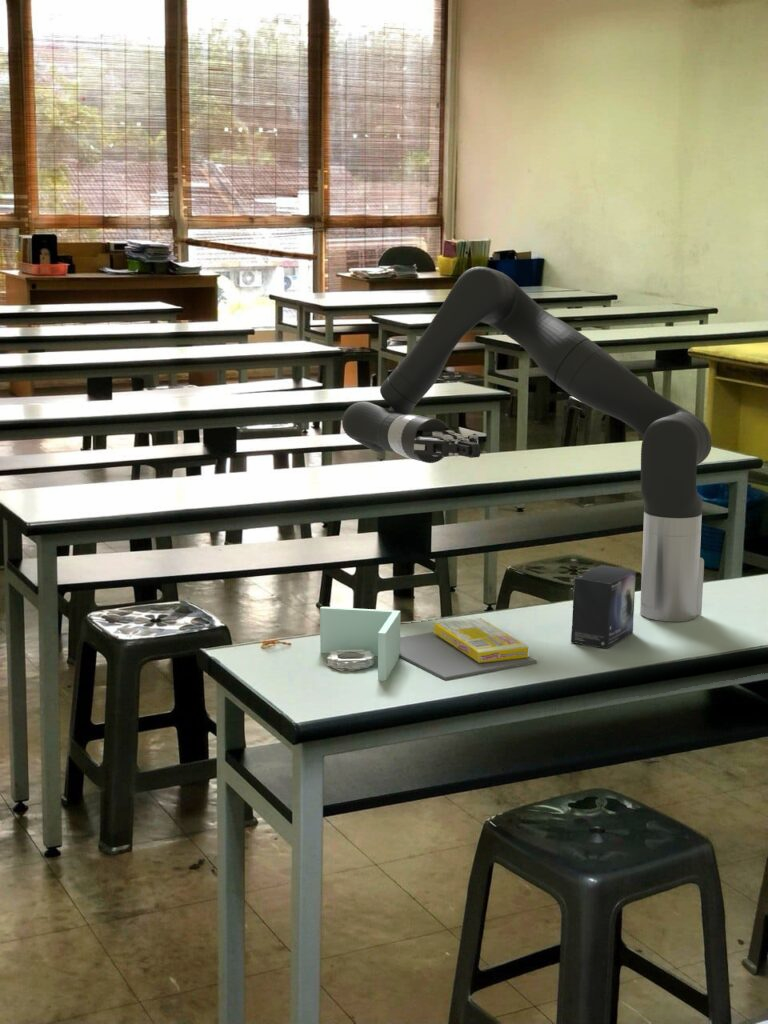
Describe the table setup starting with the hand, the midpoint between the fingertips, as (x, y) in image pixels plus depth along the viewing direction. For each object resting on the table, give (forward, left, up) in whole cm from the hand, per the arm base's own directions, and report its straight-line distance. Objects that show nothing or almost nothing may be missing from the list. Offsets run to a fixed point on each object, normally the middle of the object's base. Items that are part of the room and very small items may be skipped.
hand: (476, 450), depth 210 cm
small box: (-12, +18, -28) cm, 36 cm away
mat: (+12, +13, -28) cm, 33 cm away
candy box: (+4, +14, -27) cm, 30 cm away
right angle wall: (+28, +10, -29) cm, 42 cm away
